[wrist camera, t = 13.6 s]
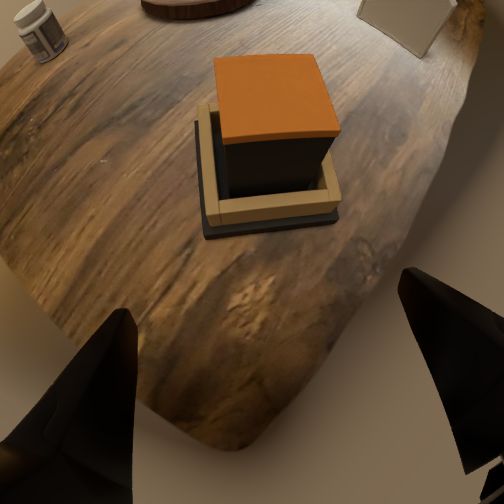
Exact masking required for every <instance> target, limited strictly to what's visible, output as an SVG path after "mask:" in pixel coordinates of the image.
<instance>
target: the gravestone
mask: <svg viewBox="0 0 504 504" xmlns="http://www.w3.org/2000/svg"><path fill="white" fill-rule="evenodd" d="M456 6H457V2H456V0H362V2H361V5H360V7H359V10H358V13H357V15H356V16H357V17H359V18H360V19H362V20H364V21H365V22H367V23H369V24H370V25H372V26H374V27H375V28H377V29H378V30H380V31H381V32H383V33H384V34H386V35H387V36H389V37H390V38H392V39H393V40H395V41H396V42H398V43H399V44H400V45H402V46H403V47H405V48H406V49H407V50H409V51H410V52H411V53H413V54H414V55H415V56H417V57H418V58H419V59H420V58H421V57H422V56H423V55H425V54H426V53H427V51H428V50H429V48H430V47H431V45H432V43H433V42H434V40H435V39H436V37H437V36H438V34H439V33H440V31H441V30H442V28H443V27H444V25H445V23H446V22H447V20H448V19H449V17H450V16H451V14H452V12H453V11H454V9H455V8H456Z"/></svg>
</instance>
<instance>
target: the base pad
mask: <svg viewBox="0 0 504 504" xmlns="http://www.w3.org/2000/svg"><path fill="white" fill-rule="evenodd" d="M197 109H198V120H197V121H194V123H195V139H196V154H197V168H198V180H199V192H200V204H201V214H202V225H203V235H204V237H205V239H206V240H209V239H216V238H224V237H232V236H239V235H247V234H255V233H263V232H271V231H279V230H288V229H296V228H304V227H313V226H321V225H330V224H335V223H336V222H337V221H338V220H339V216H338V212H337V207H336V206H337V205H338V204H339V203H340V202H341V201H342V197H341V193H340V189H339V185H338V181H337V177H336V173H335V169H334V165H333V161H332V158H331V154H330V150H328V152H327V154H326V156H325V158H324V160H323V161H322V163H321V165H320V167H319V169H318V171H317V173H316V174H315V176H314V178H313V180H312V182H311V184H310V186H309V187H308V189H307V191H301V192H290V193H280V194H271V195H262V196H253V197H244V198H236V199H230V197H229V188H228V180H227V172H226V163H225V155H224V146H223V141H222V132H221V123H220V114H219V105H218V102H215V103H209V104H202V105H198V106H197Z"/></svg>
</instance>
